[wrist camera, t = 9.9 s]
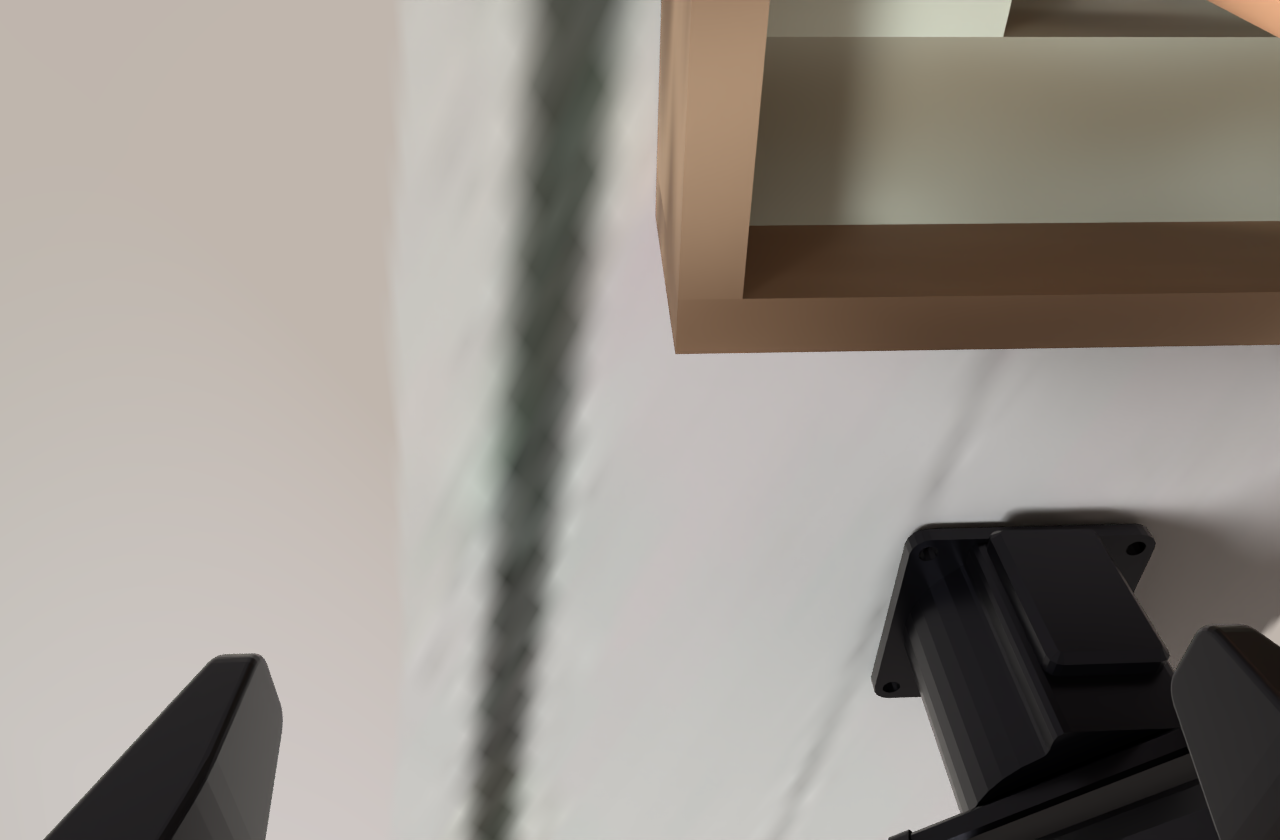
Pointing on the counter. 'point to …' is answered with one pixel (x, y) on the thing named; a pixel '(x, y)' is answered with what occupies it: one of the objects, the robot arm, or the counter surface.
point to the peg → (1255, 12)
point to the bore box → (967, 175)
